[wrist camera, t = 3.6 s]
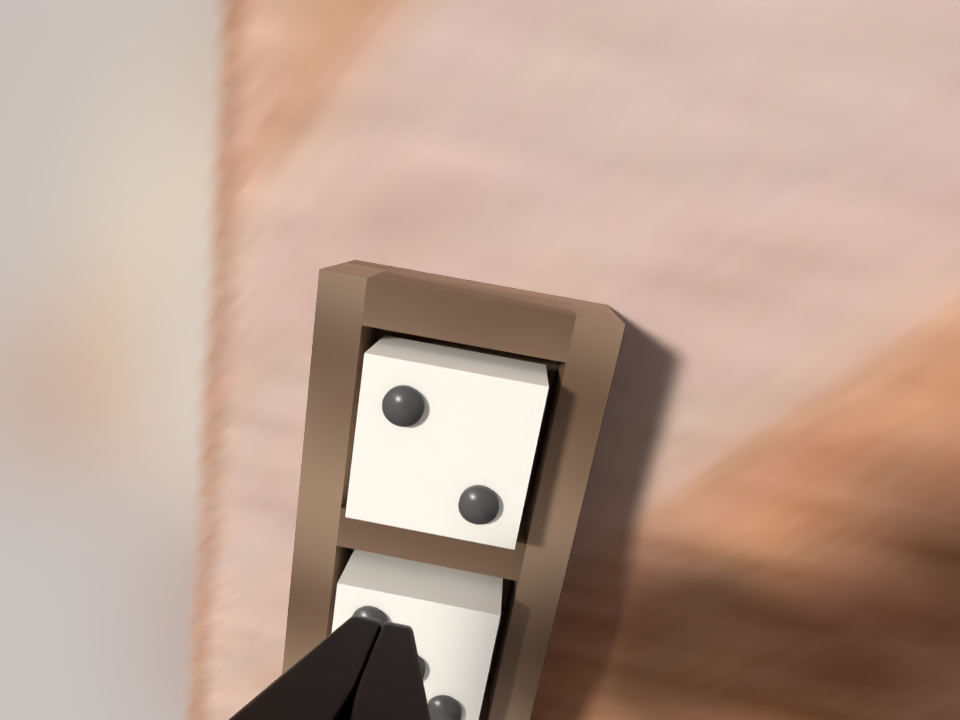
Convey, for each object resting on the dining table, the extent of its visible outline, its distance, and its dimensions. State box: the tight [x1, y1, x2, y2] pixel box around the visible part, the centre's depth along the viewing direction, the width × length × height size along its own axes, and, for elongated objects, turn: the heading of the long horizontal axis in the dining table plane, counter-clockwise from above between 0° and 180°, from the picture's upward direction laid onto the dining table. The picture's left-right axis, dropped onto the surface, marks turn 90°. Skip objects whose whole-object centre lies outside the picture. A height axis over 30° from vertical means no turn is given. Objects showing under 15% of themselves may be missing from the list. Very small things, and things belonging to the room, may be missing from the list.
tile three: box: [332, 549, 503, 720], centre depth 16 cm, size 4×4×2 cm
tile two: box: [345, 335, 549, 550], centre depth 15 cm, size 4×4×2 cm
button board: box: [282, 260, 626, 720], centre depth 18 cm, size 20×8×3 cm, turn 170°
